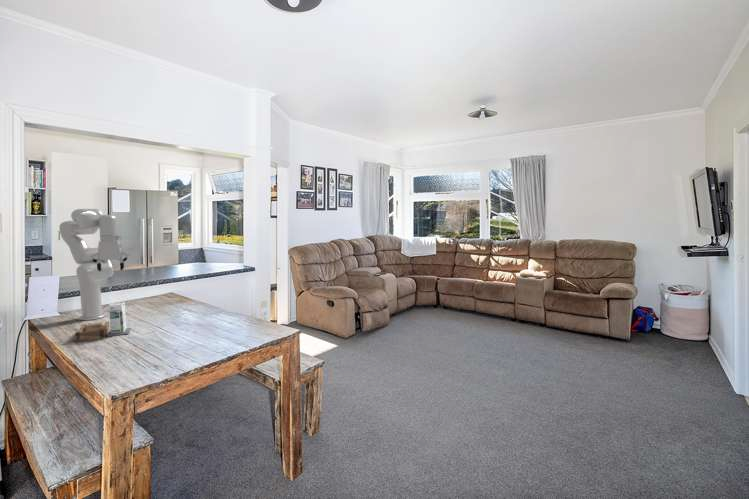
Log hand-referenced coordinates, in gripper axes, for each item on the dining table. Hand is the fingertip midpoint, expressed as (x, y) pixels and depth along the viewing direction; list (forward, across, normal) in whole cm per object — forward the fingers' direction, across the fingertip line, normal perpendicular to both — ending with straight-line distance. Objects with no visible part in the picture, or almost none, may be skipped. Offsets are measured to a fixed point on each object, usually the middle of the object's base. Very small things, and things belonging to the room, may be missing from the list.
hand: (111, 270), depth 205 cm
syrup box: (+30, -4, +16) cm, 34 cm away
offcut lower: (+30, +7, +11) cm, 33 cm away
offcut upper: (+27, +7, +11) cm, 30 cm away
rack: (+30, +7, +15) cm, 34 cm away
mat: (+30, -4, +16) cm, 34 cm away
